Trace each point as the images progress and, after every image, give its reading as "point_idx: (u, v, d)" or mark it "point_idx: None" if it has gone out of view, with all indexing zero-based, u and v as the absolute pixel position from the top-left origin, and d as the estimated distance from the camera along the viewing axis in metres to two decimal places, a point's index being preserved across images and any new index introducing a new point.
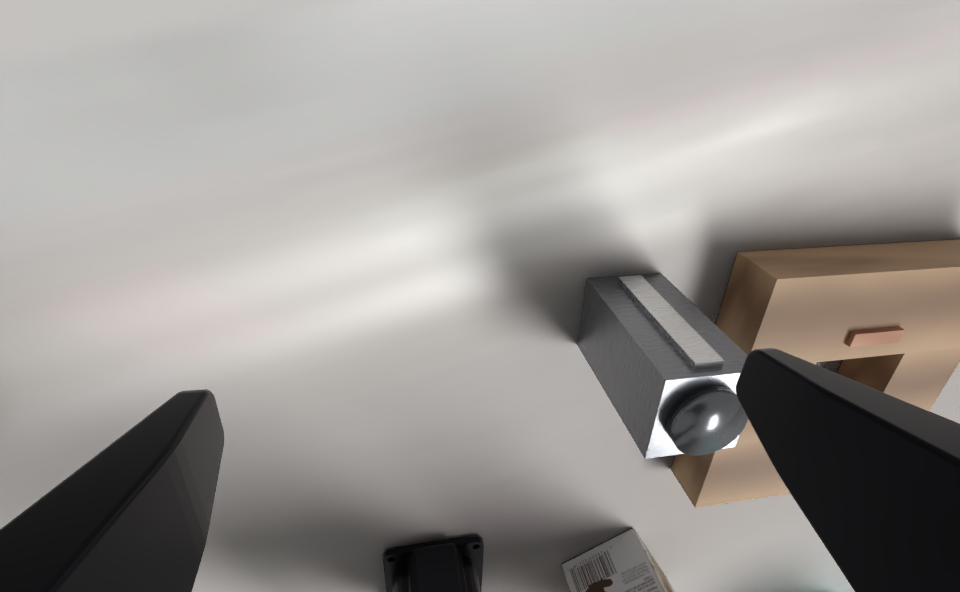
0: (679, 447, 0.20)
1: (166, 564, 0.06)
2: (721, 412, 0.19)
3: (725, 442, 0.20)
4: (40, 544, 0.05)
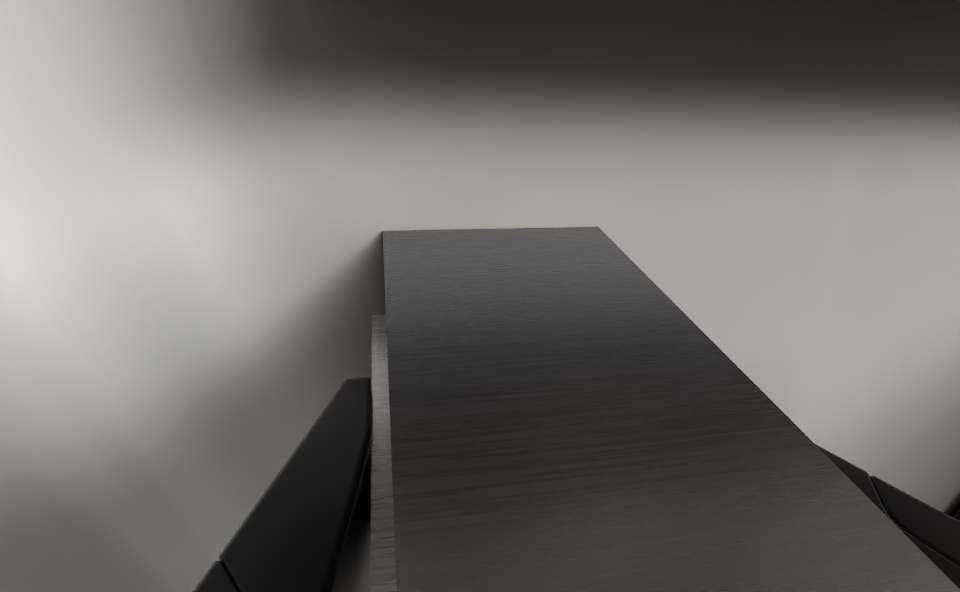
0: None
1: (368, 538, 0.06)
2: None
3: None
4: (305, 513, 0.05)
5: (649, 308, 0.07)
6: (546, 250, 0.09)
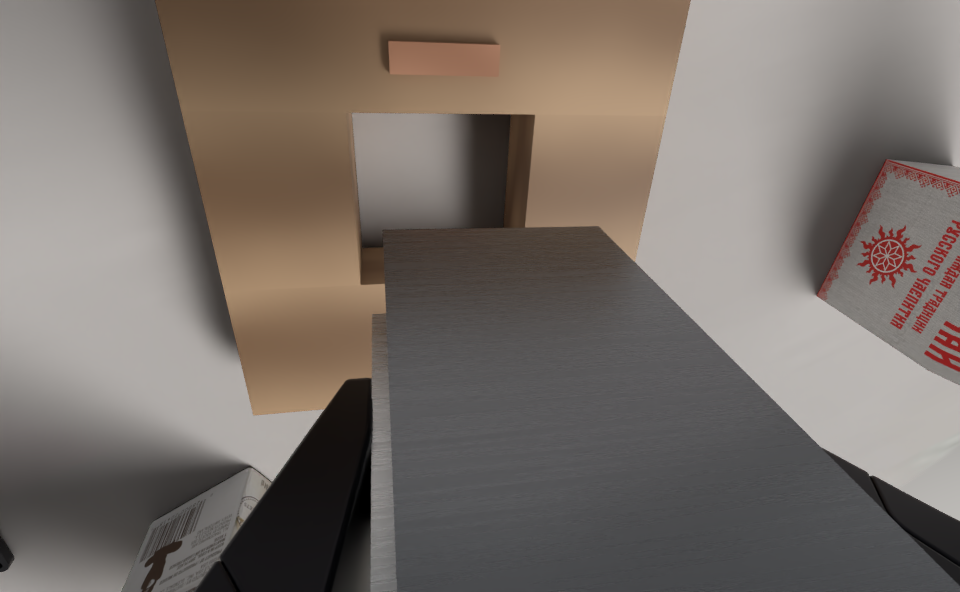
0: None
1: (368, 538, 0.06)
2: None
3: None
4: (305, 513, 0.05)
5: (650, 307, 0.07)
6: (546, 249, 0.09)
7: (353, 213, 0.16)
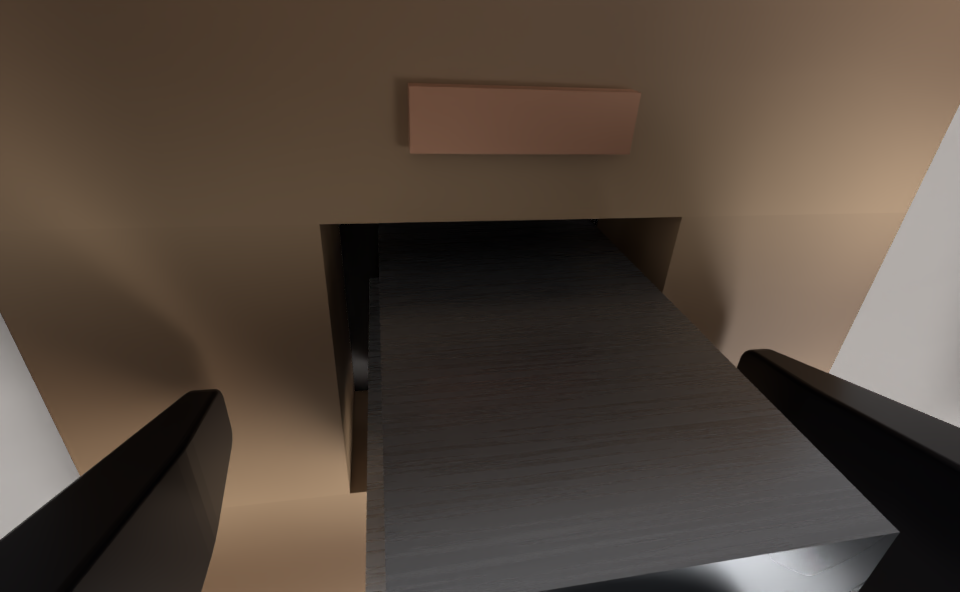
0: None
1: (178, 563, 0.06)
2: None
3: None
4: (55, 542, 0.05)
5: (602, 259, 0.08)
6: None
7: (336, 391, 0.08)
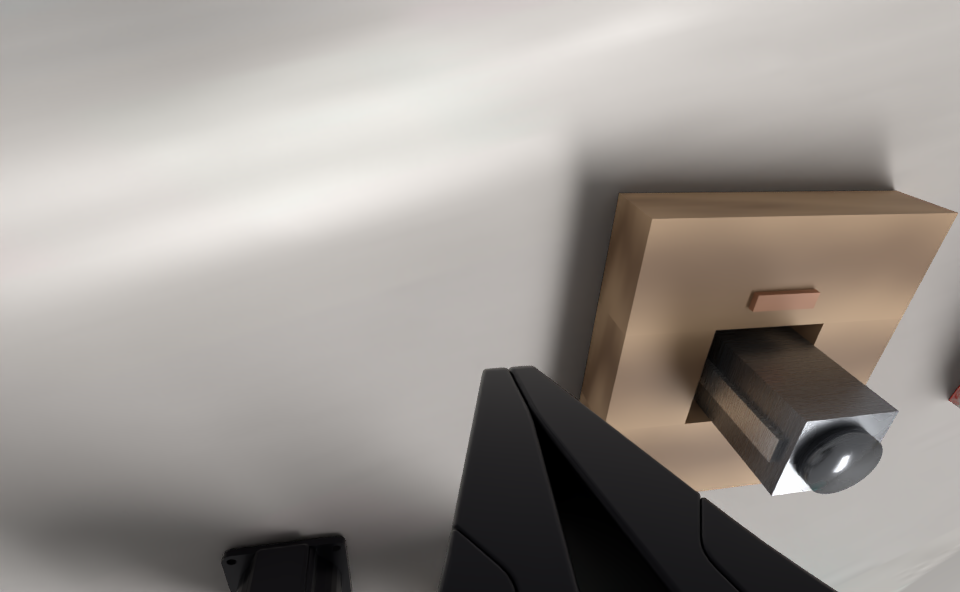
0: (853, 483, 0.20)
1: None
2: (831, 464, 0.19)
3: (875, 447, 0.19)
4: (513, 489, 0.05)
5: (794, 337, 0.23)
6: None
7: (697, 383, 0.24)
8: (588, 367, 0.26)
